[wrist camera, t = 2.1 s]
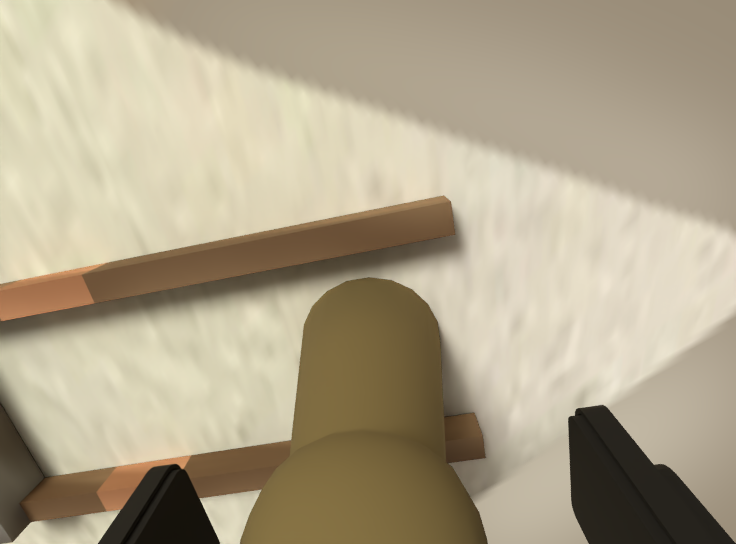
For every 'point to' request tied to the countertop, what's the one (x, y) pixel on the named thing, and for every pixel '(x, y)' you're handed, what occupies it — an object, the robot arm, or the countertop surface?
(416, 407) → the cork
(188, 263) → the guide channel
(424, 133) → the countertop surface
